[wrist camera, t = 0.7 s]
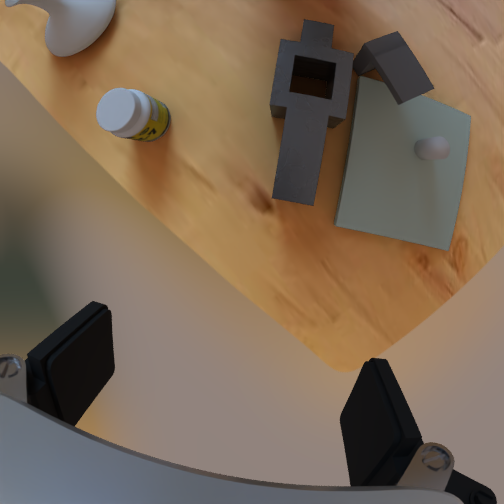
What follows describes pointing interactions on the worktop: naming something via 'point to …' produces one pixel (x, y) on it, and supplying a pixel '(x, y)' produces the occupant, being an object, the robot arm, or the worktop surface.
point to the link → (307, 108)
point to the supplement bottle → (133, 115)
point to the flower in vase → (72, 22)
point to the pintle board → (402, 151)
